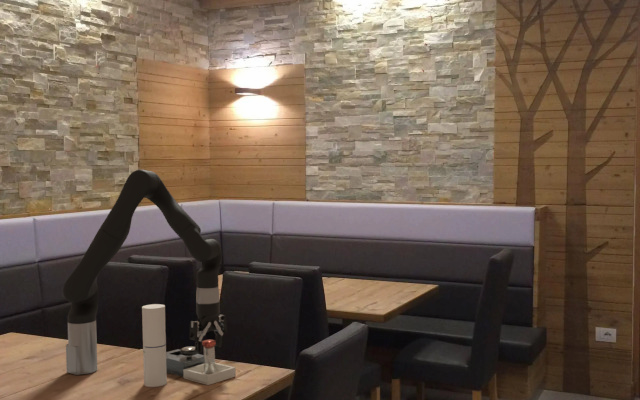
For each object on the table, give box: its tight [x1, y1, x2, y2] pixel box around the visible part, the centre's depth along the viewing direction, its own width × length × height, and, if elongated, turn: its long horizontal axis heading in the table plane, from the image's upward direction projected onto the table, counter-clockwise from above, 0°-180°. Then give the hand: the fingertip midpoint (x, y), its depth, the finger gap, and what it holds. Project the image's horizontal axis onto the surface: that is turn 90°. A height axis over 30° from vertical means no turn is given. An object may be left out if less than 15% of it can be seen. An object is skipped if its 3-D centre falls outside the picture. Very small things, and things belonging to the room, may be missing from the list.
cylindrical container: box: [141, 303, 168, 388], centre depth 235 cm, size 7×7×25 cm
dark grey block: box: [166, 346, 204, 378], centre depth 251 cm, size 10×15×8 cm, turn 50°
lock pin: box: [201, 339, 216, 375], centre depth 242 cm, size 4×4×11 cm
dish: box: [183, 362, 237, 386], centre depth 242 cm, size 12×12×3 cm
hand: (208, 349), depth 241 cm, fingers open, 8 cm apart
